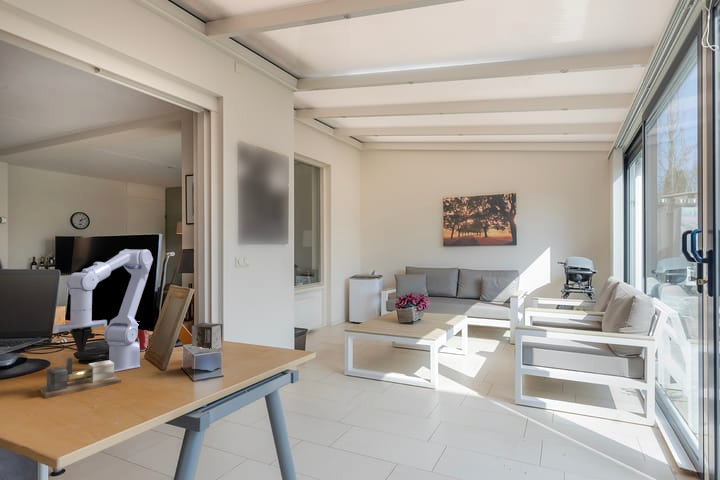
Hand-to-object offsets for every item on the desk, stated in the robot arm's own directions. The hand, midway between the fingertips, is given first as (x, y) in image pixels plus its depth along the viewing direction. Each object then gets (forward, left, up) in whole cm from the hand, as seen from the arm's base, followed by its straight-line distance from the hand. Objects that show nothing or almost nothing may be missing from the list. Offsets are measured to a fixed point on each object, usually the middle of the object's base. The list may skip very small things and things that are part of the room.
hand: (80, 351), depth 136 cm
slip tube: (+2, +3, -8) cm, 9 cm away
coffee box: (-37, +13, -11) cm, 40 cm away
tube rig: (0, +3, -10) cm, 11 cm away
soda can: (-30, -31, -11) cm, 44 cm away
